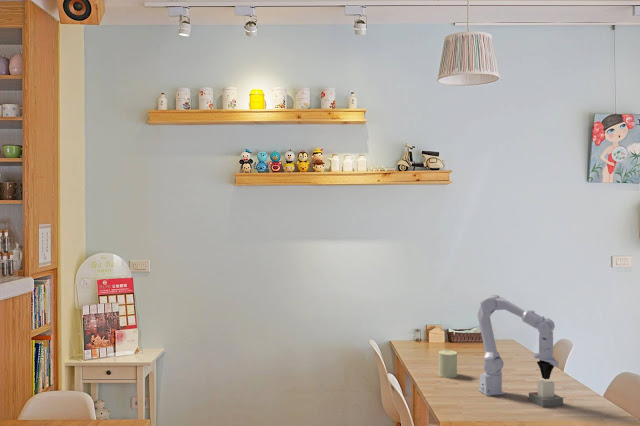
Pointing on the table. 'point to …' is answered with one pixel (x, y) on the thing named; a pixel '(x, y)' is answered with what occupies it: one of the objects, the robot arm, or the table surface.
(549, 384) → the plug
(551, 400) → the socket
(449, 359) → the can
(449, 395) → the table surface
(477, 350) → the table surface
